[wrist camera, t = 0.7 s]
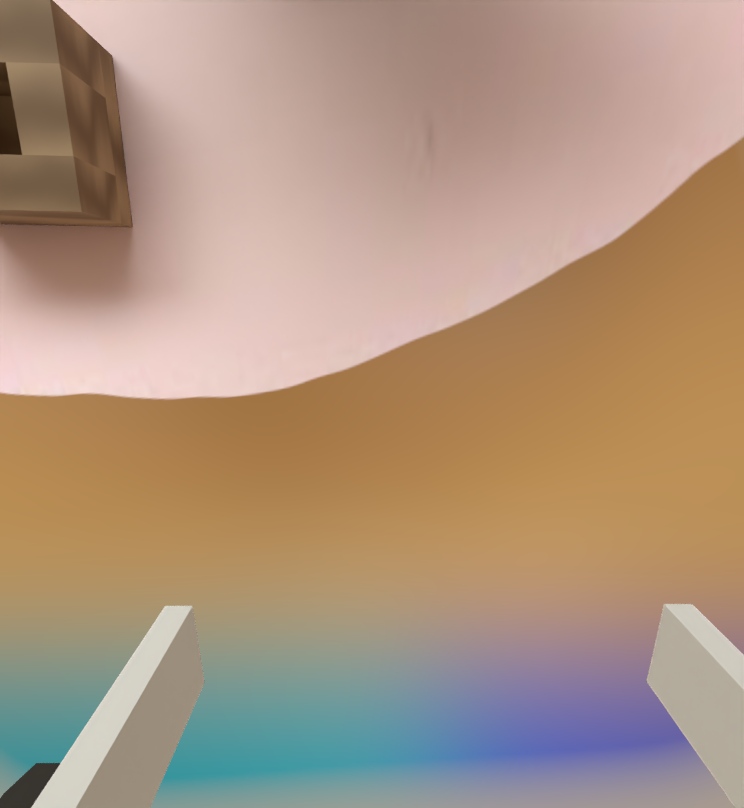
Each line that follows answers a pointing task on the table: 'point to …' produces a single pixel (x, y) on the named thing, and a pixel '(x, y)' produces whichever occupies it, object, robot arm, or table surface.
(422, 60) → the table surface
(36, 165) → the socket block
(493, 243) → the table surface
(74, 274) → the table surface
